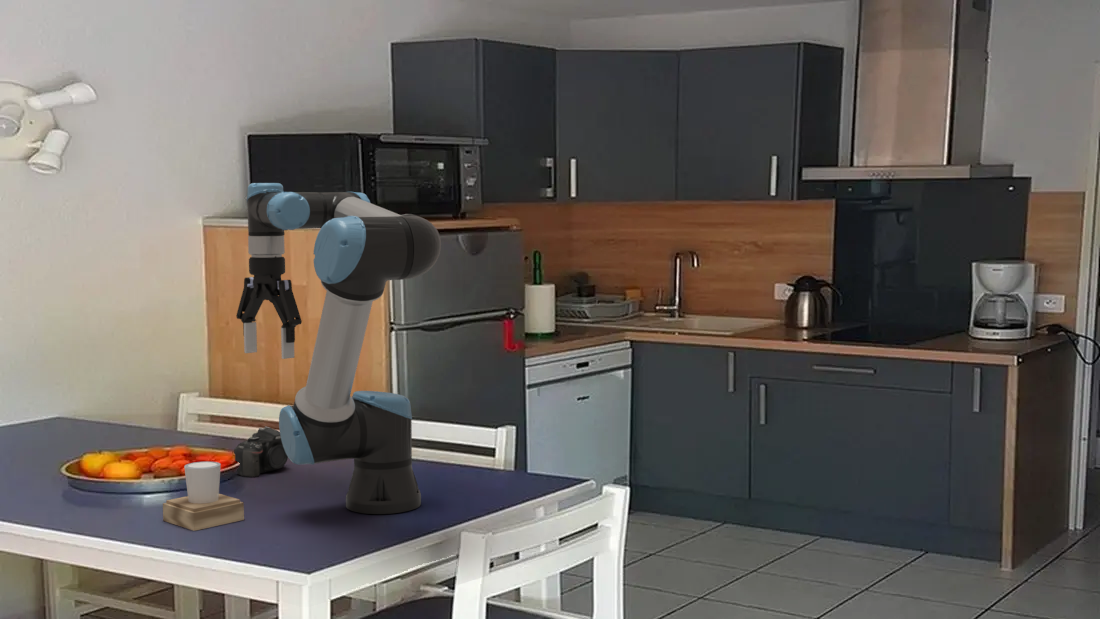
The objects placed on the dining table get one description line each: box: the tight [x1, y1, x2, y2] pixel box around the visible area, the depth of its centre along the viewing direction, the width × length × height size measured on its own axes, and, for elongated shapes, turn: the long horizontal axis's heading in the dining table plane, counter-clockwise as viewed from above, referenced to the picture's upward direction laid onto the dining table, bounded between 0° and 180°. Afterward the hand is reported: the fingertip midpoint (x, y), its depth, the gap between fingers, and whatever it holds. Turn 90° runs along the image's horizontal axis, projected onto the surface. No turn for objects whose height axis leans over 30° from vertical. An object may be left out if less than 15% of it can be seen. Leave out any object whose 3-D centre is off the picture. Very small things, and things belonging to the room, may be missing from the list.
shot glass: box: [184, 460, 222, 504], centre depth 246 cm, size 7×7×7 cm
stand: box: [162, 493, 245, 532], centre depth 247 cm, size 11×11×4 cm
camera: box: [233, 426, 289, 478], centre depth 289 cm, size 13×10×10 cm
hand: (269, 355), depth 271 cm, fingers open, 13 cm apart
